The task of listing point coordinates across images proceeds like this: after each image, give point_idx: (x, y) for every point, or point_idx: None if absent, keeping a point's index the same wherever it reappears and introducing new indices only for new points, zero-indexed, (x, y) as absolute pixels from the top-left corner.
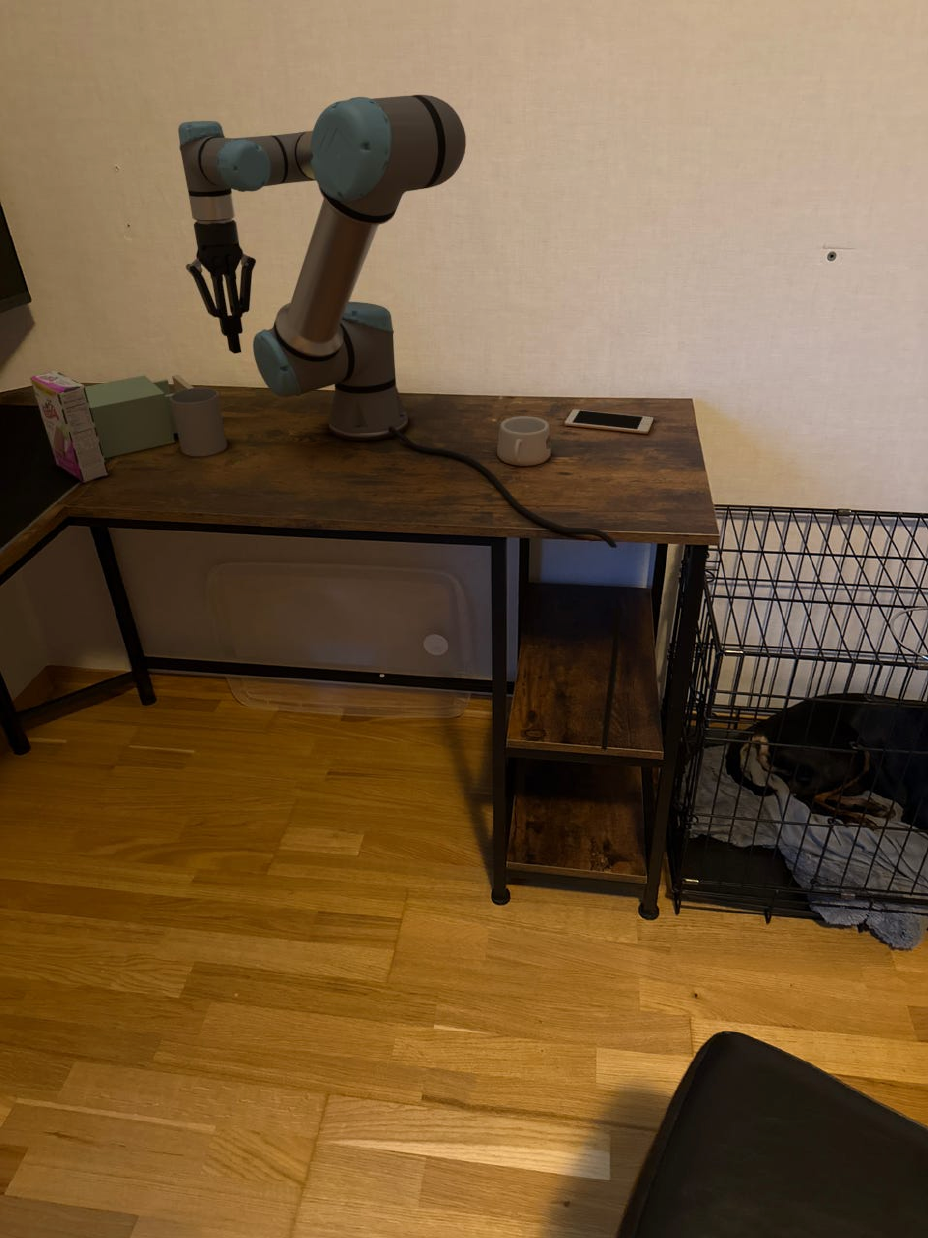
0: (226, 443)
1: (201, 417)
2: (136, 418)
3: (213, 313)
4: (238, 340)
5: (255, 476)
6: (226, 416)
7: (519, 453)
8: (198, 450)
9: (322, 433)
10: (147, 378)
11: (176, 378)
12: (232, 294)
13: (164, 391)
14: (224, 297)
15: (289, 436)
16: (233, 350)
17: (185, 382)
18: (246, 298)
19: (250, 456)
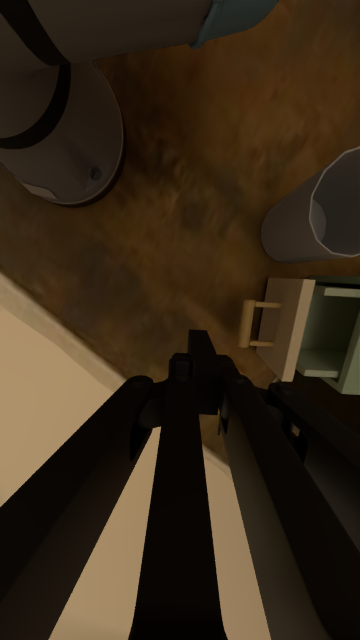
0: (267, 214)
1: (351, 166)
2: None
3: (293, 392)
4: (193, 338)
5: (298, 56)
6: (213, 321)
7: None
8: (319, 199)
9: (136, 166)
10: (348, 375)
11: (294, 364)
12: (199, 449)
13: (304, 361)
14: (256, 441)
15: (181, 189)
16: (207, 333)
17: (295, 334)
18: (117, 413)
19: (262, 149)
